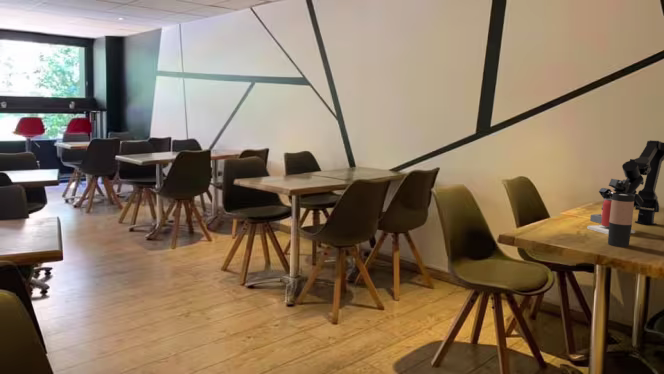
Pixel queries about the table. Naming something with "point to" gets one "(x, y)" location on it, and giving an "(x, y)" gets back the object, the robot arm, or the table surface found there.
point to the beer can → (606, 212)
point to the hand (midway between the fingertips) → (608, 211)
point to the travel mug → (621, 219)
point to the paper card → (602, 229)
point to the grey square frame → (596, 218)
